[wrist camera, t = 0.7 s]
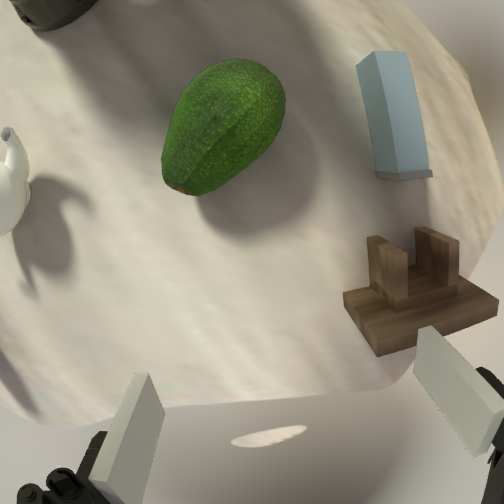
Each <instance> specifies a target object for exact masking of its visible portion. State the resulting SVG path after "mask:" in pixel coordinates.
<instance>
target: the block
mask: <svg viewBox="0 0 504 504" xmlns="http://www.w3.org/2000/svg"><path fill="white" fill-rule="evenodd" d="M356 69H357V73H358V77H359V82H360V86H361V90H362V95H363V100H364V104H365V109H366V114H367V119H368V125H369V130H370V136H371V142H372V148H373V154H374V161H375V168H376V171H375V173H376V178H380V179H388V180H395V181H406V180H414V179H422V178H430V177H433V175H432V170H429V163H428V155H427V148H426V141H425V135H424V129H423V123H422V117H421V112H420V107H419V102H418V97H417V93H416V88H415V84H414V80H413V76H412V71H411V68H410V64H409V60H408V56H407V53H406V52H398V51H373V52H372V53H371V54H369V55H368V56H367V57H366V58H365V59H363V60H362V61H361V62H360V63H358V64H357V65H356Z"/></svg>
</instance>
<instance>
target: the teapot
mask: <svg viewBox="0 0 504 504" xmlns="http://www.w3.org/2000/svg"><path fill="white" fill-rule="evenodd" d="M1 140H2V141H3V142H4V143H6V144H8V150H7V154H6V158H5V161H4V162H3V161H0V237H1V236H4V235H6V234H7V233H9V232H10V231H11V230H12V229H13V228H14V227H15V226H16V225H17V224H18V222H19V221H20V219H21V217H22V215H23V213H24V210H25V208H26V206H27V205H28V203H29V201H30V196H31V190H30V186H29V183H28V181H27V179H28V176H29V161H28V157H27V153H26V151H25V148H24V146H23V144H22V143H21V141H20V139H19V137H18V136H17V134H16V132H15V131H14V130H13V128H11V127H10V126H6V127H4V128H3V130H2V132H1Z"/></svg>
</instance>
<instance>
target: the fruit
mask: <svg viewBox="0 0 504 504" xmlns="http://www.w3.org/2000/svg"><path fill="white" fill-rule="evenodd" d="M285 102H286V99H285V92H284V90H283V88H282V85H281V83H280V81H279V80H278V79H277V77H276V76H275V75H274V74H272V73H271V72H270V71H269V70H268V69H267V68H266V67H264V66H262V65H261V64H259V63H256V62H253V61H250V60H246V59H239V58H234V59H230V60H225V61H222V62H220V63H218V64H215V65H213V66H210V67H209V68H207V69H206V70H204V71H203V72H202V73H200V74H199V75H198V76H196V77H195V78H194V79H193V80H192V82H191V83H190V84H189V85H188V86H187V87H186V89H185V90H184V91H183V92H182V94H181V96H180V98H179V101H178V103H177V105H176V107H175V109H174V112H173V115H172V119H171V123H170V126H169V130H168V134H167V138H166V141H165V145H164V149H163V153H162V157H161V162H162V175H163V180H164V181H165V183H166V184H167V185H168V186H169V187H171V188H172V189H174V190H177V191H179V192H181V193H184V194H186V195H192V196H200V195H203V194H205V193H208V192H211V191H213V190H215V189H217V188H218V187H219V186H221V185H222V184H224V183H225V182H227V181H228V180H229V179H231V178H232V177H234V176H235V175H236V174H238V173H239V172H240V171H242V170H243V169H245V168H246V167H247V166H248V165H249V164H251V163H252V162H253V161H254V160H256V159H257V158H258V157H259V156H260V155H261V154H262V153H263V152H264V151H265V150H266V149H267V148H268V147H269V146H270V144H271V143H272V142H273V140H274V138H275V136H276V135H277V133H278V131H279V129H280V127H281V124H282V120H283V117H284V114H285Z"/></svg>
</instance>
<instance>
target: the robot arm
mask: <svg viewBox="0 0 504 504" xmlns="http://www.w3.org/2000/svg"><path fill="white" fill-rule="evenodd" d="M10 1H11V3H12V5H13V7H14V8H15V10H16V12H17V14H18V15H19V17H20V19H21V20H22V21H23V22H24V23H25V24H26V25H28V26H30V27H31V28H33V29H35V30H38V31H50V30H54V29H57V28H60V27H62V26H64V25H66V24H68V23H70V22H72V21H73V20H75V19H77V18H78V17H79V16H81V15H82V14H83V13H85V12H86V11H87V10H88V9H89V8H90V7H91V6H92V5H93V4H94V3H95V2H96V1H97V0H10ZM413 373H414V374H415V376H416V377H417V379H418V380H419V381H420V382H421V384H422V385H423V387H424V388H425V390H426V391H427V392H428V394H429V395H430V396H431V398H432V400H433V401H434V402H435V404H436V405H437V407H438V408H439V410H440V411H441V412H442V414H443V415H444V417H445V418H446V419H447V421H448V423H449V424H450V426H451V427H452V428H453V430H454V431H455V433H456V434H457V436H458V437H459V439H460V440H461V442H462V443H463V445H464V446H465V448H466V449H467V451H468V452H469V454H470V455H471V457H472V459H474V458H476V457H478V456H480V455H482V454H484V453H486V452H487V451H488V449H489V447H490V445H491V443H492V444H493V445H494V446H495V449H494V451H493V453H492V455H491V456H490V458H489V460H488V462H487V463H490V461H491V460H492V461H491V467H490V471H489V475H488V479H487V484H486V488H485V492H484V496H483V499H482V502H481V504H504V385H503V384H502V382H500V380H499V379H497V378H496V376H495V375H494V374H493V373H492V372H491V371H489V370H487V369H485V368H483V367H479V368H476V369H474V368H473V367H472V366H471V364H470V363H469V362H468V361H467V360H466V359H465V358H464V357H463V356H462V355H461V354H460V353H459V352H458V351H457V350H456V349H455V348H454V347H453V346H452V345H451V344H450V343H449V342H447V340H446V339H445V338H444V337H443V336H442V335H441V334H440V333H439V332H438V331H437V330H436V329H435V328H433V327H432V326H431V325H430V326H427V327H423V328H420V329H418V339H417V348H416V356H415V363H414V371H413ZM164 417H165V411H164V409H163V407H162V405H161V402H160V400H159V397H158V395H157V393H156V390H155V388H154V385H153V383H152V380H151V378H150V375H149V373H137V374H134V376H133V378H132V380H131V382H130V384H129V386H128V388H127V391H126V393H125V395H124V397H123V399H122V402H121V404H120V406H119V408H118V410H117V413H116V415H115V417H114V419H113V422H112V424H111V426H110V429H109V431H108V432H107V431H99V432H98V433H97V434H96V435H95V436H94V437H93V438H92V440H91V442H90V445H89V448H88V449H87V451H86V453H85V456H84V458H83V460H82V462H81V464H80V466H79V469H78V471H77V473H76V475H75V474H74V472H73V471H72V470H70V469H68V468H63V467H62V468H57V469H55V470H53V471H52V472H51V473H50V474H49V475H48V476H47V479H46V486H47V487H48V488H49V489H50V491H43V490H42V489H41V488H40V487H39V486H38V485H36V484H32V483H29V484H26V485H24V486H22V487H21V488H20V490H19V491H18V494H17V504H142V501H143V497H144V492H145V488H146V485H147V481H148V477H149V473H150V469H151V465H152V461H153V457H154V453H155V450H156V446H157V442H158V439H159V435H160V431H161V428H162V424H163V420H164Z"/></svg>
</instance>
